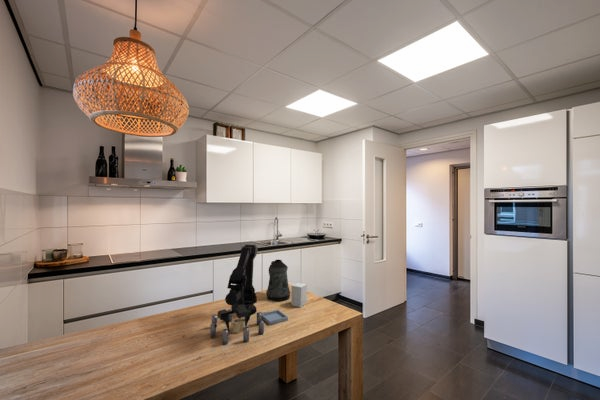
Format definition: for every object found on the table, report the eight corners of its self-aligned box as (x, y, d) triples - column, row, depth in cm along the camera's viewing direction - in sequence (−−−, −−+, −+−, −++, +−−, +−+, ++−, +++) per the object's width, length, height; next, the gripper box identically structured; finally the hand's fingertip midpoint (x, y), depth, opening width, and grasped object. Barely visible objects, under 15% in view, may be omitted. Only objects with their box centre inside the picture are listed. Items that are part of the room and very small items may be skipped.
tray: (260, 317, 150) (260, 313, 150) (278, 313, 156) (278, 309, 156) (269, 325, 140) (269, 321, 140) (287, 320, 147) (287, 316, 147)
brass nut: (230, 329, 136) (230, 319, 136) (239, 326, 138) (240, 317, 138) (234, 334, 131) (234, 324, 131) (244, 331, 133) (244, 321, 133)
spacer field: (203, 326, 138) (203, 314, 138) (251, 314, 153) (251, 304, 153) (218, 350, 116) (218, 337, 116) (272, 334, 131) (272, 322, 131)
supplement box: (306, 304, 170) (307, 284, 170) (300, 307, 164) (301, 287, 164) (297, 301, 174) (297, 282, 174) (290, 305, 168) (291, 285, 168)
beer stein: (282, 303, 170) (282, 264, 170) (257, 298, 179) (258, 261, 179) (294, 295, 184) (295, 259, 184) (271, 290, 194) (272, 256, 194)
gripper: (224, 306, 123) (223, 340, 123) (261, 299, 133) (260, 330, 133) (217, 299, 132) (216, 330, 132) (252, 292, 142) (252, 321, 142)
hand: (237, 328), depth 135 cm, fingers open, 9 cm apart
